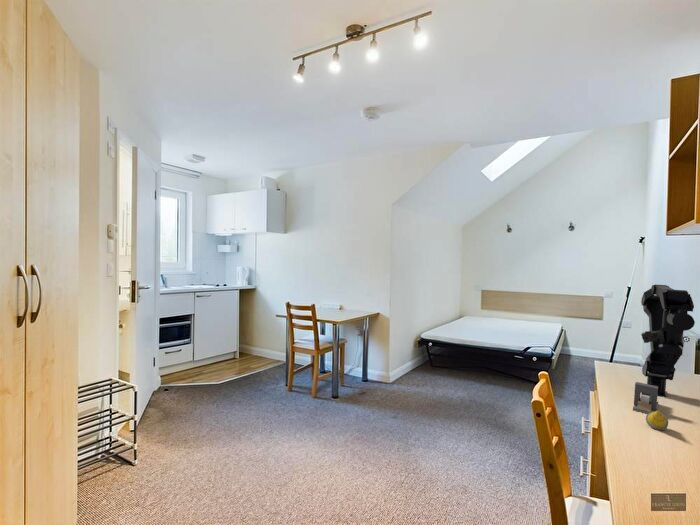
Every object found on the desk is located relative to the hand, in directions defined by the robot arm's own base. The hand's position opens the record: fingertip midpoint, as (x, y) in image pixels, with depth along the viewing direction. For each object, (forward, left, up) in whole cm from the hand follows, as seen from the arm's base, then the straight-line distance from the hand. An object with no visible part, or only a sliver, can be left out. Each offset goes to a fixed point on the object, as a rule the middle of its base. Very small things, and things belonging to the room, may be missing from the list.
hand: (669, 369), depth 135 cm
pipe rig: (+7, -5, -13) cm, 16 cm away
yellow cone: (+26, -1, -13) cm, 29 cm away
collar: (+10, -5, -12) cm, 17 cm away
